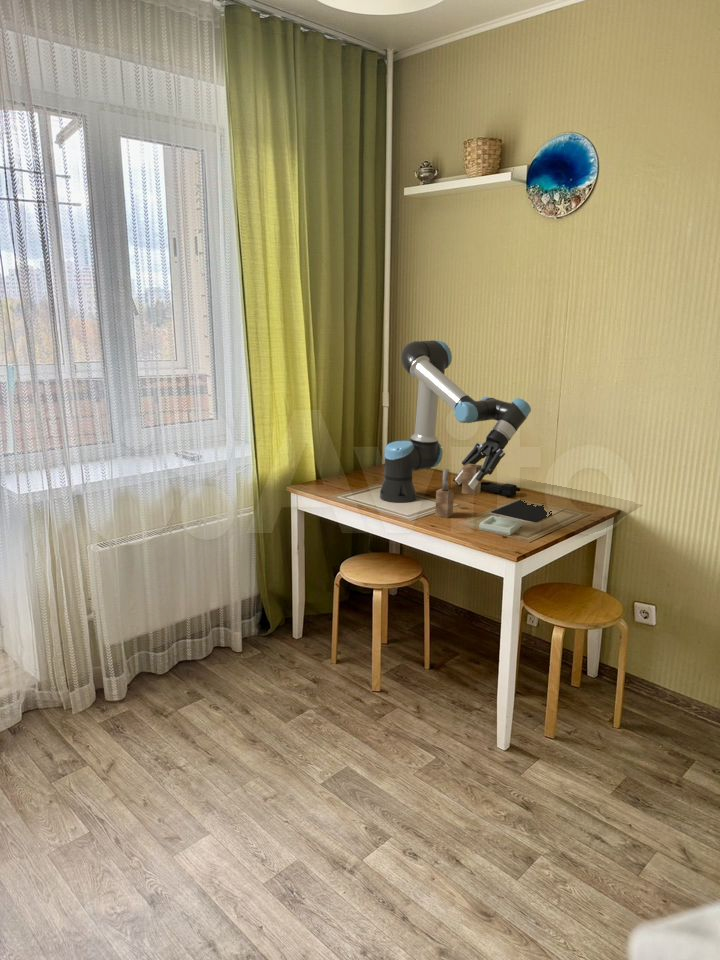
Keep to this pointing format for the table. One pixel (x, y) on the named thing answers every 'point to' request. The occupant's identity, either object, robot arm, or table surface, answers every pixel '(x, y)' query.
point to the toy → (499, 488)
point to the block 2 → (468, 475)
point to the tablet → (522, 512)
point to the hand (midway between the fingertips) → (464, 484)
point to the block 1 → (444, 498)
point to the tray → (500, 525)
